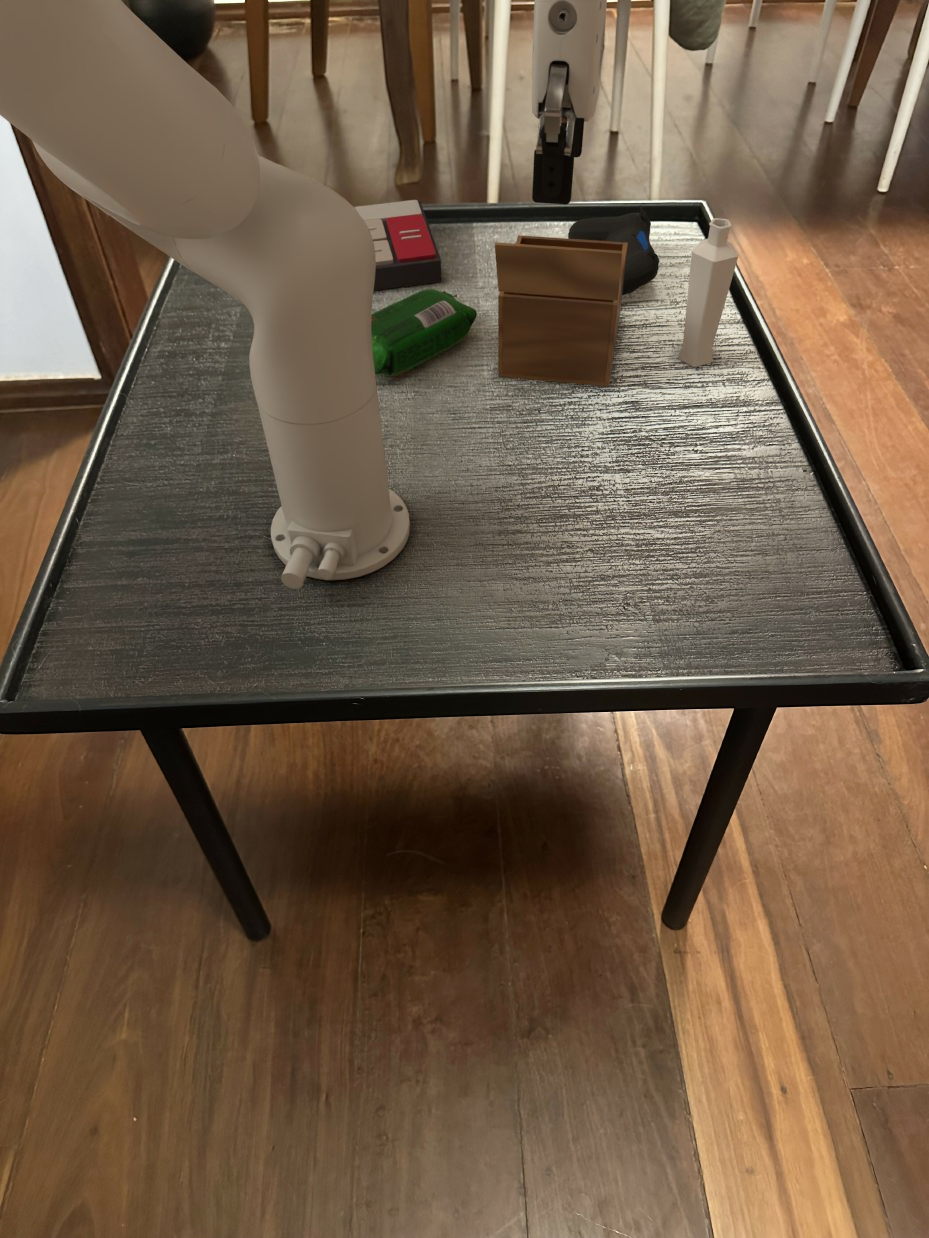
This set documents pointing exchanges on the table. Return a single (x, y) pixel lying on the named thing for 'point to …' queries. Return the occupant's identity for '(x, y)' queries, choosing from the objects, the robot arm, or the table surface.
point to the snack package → (417, 330)
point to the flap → (558, 271)
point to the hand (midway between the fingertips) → (557, 177)
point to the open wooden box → (559, 328)
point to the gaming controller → (623, 229)
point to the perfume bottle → (707, 292)
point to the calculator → (402, 244)
